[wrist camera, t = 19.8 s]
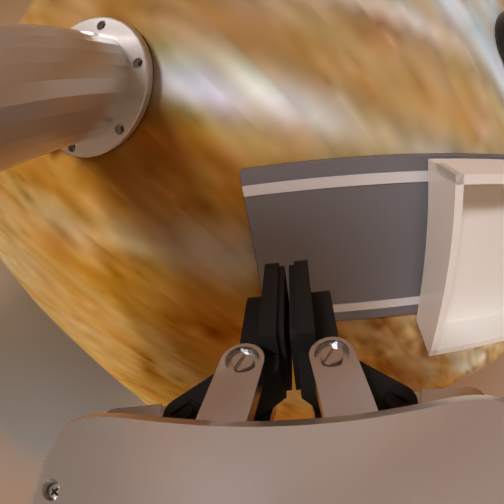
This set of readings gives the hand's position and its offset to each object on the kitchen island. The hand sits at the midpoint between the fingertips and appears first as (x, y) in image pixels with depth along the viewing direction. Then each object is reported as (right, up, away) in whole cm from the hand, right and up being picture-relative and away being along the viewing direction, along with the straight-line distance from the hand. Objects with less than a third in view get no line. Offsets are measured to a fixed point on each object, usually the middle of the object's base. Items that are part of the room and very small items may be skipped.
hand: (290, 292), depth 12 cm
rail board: (+15, +3, +10) cm, 18 cm away
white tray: (+22, +3, +7) cm, 23 cm away
